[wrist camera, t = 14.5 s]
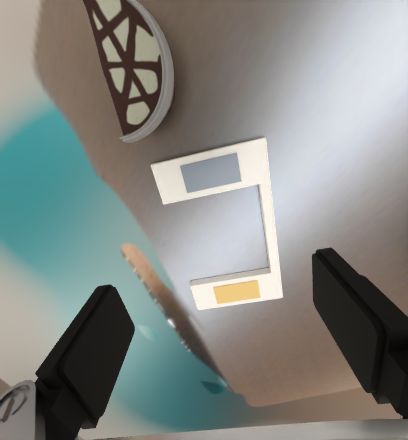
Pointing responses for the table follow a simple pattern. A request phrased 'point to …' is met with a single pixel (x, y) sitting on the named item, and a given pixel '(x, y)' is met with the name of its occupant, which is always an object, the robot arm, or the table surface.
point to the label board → (220, 182)
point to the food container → (133, 64)
